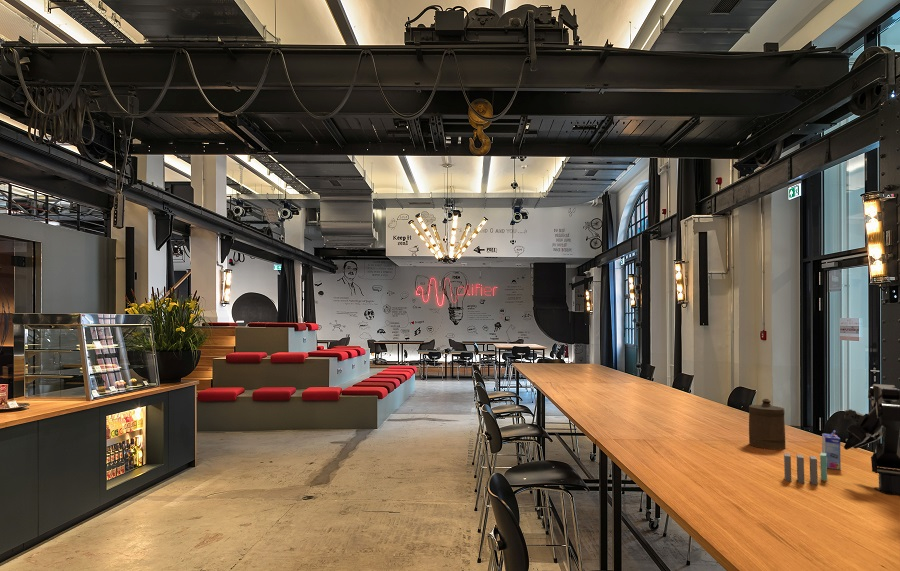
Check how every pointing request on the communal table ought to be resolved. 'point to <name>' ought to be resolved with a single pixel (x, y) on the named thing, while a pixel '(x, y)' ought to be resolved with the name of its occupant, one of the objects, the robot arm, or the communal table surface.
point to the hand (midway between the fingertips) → (849, 448)
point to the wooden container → (766, 426)
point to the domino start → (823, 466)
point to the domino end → (787, 466)
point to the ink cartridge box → (832, 450)
